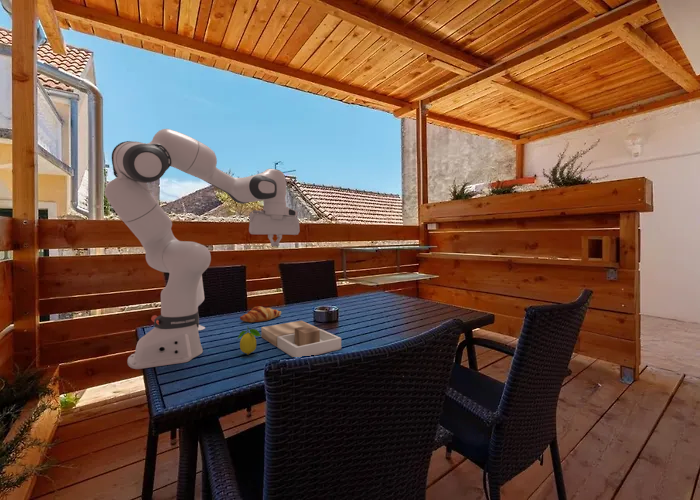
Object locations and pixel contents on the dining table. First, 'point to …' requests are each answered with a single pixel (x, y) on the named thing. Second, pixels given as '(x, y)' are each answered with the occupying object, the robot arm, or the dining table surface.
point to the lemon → (248, 340)
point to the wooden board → (281, 330)
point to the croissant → (260, 314)
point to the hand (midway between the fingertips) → (275, 246)
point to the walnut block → (306, 335)
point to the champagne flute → (200, 297)
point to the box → (309, 345)
